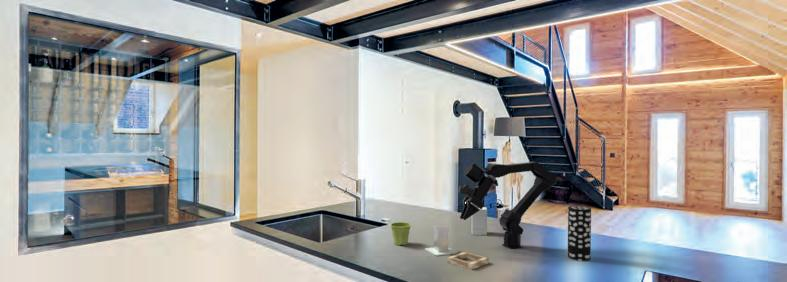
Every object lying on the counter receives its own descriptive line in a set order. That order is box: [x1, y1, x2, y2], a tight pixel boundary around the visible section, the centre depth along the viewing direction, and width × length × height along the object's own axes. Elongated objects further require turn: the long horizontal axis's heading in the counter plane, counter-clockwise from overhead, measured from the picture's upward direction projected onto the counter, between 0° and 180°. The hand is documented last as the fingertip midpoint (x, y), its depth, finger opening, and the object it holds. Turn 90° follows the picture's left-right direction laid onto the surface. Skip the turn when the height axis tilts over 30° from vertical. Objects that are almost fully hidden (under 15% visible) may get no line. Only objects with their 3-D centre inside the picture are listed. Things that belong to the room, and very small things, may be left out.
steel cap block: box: [433, 224, 450, 252], centre depth 166 cm, size 4×5×10 cm
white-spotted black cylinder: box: [567, 205, 592, 262], centre depth 159 cm, size 8×8×20 cm
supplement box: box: [471, 206, 488, 236], centre depth 198 cm, size 7×7×13 cm
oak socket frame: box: [447, 251, 489, 271], centre depth 152 cm, size 11×11×2 cm
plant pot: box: [389, 221, 412, 246], centre depth 178 cm, size 9×9×9 cm
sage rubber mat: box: [424, 246, 459, 257], centre depth 167 cm, size 10×10×1 cm
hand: (462, 219), depth 170 cm, fingers open, 9 cm apart
